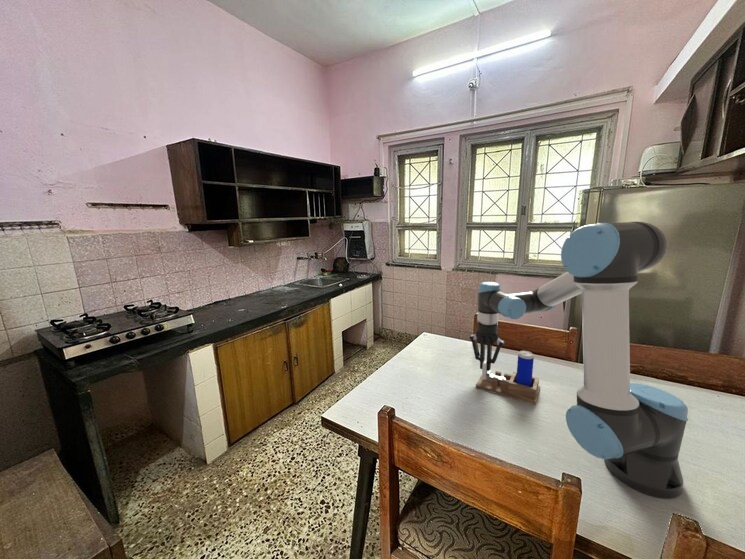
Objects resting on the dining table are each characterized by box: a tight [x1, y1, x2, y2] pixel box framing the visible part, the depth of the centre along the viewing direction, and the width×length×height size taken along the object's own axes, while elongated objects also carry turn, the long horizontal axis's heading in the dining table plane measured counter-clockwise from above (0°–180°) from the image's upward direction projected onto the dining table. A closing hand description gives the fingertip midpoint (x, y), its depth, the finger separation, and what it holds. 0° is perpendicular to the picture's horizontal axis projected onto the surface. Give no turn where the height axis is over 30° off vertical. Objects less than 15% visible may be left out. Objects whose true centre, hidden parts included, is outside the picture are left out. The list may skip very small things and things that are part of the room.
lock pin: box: [486, 370, 506, 385], centre depth 117 cm, size 3×7×3 cm, turn 55°
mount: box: [475, 370, 541, 406], centre depth 115 cm, size 12×21×5 cm, turn 55°
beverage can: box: [516, 350, 535, 387], centre depth 110 cm, size 5×5×15 cm
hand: (484, 376), depth 119 cm, fingers closed
